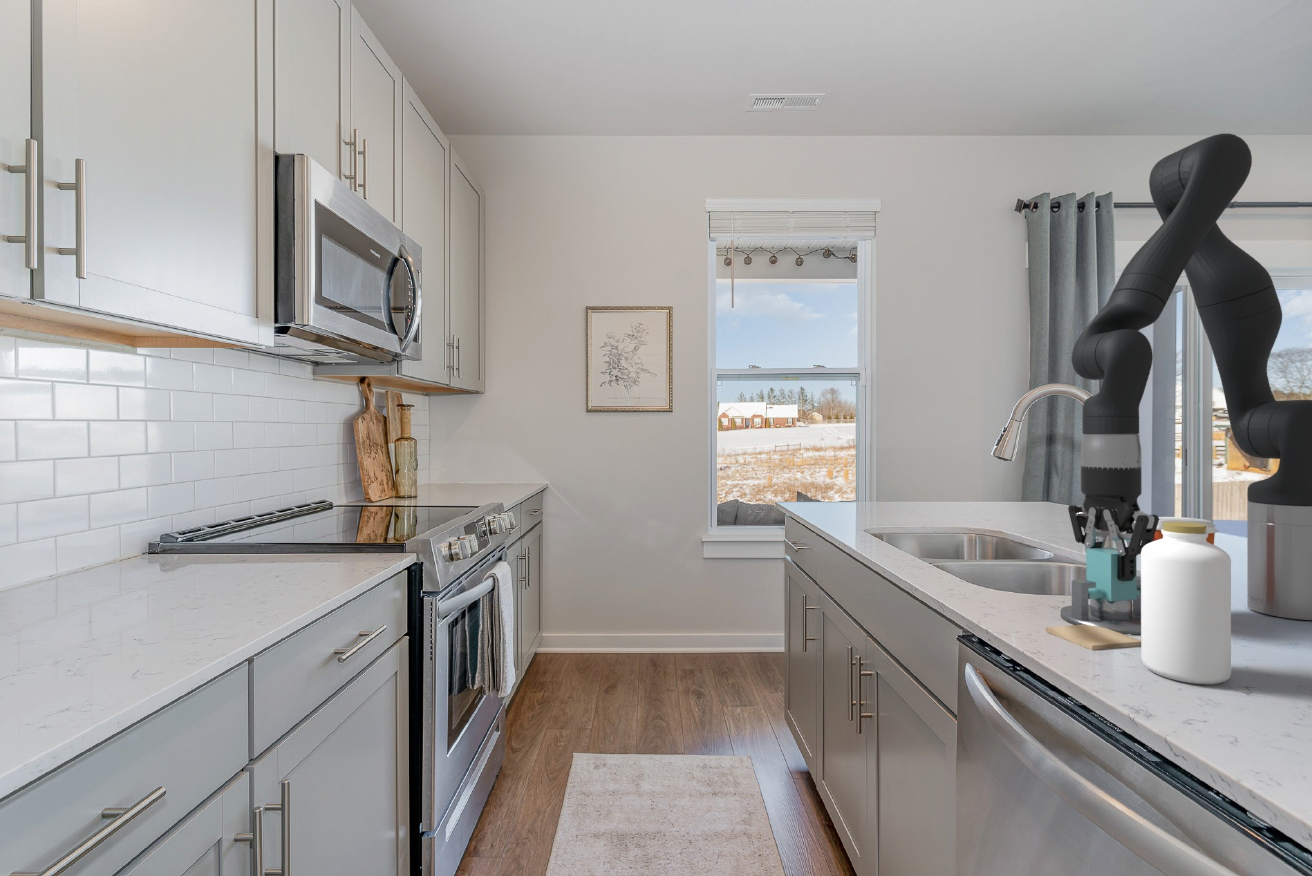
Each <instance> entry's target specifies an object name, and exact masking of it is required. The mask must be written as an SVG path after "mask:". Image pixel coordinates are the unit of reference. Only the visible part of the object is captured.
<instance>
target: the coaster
mask: <svg viewBox="0 0 1312 876" xmlns="http://www.w3.org/2000/svg"><path fill="white" fill-rule="evenodd" d="M1045 633H1048V634H1051V635H1054V636H1056V637H1059V638H1060V639H1064V640H1066V641H1068V642H1071V643H1073V644H1076V645H1078V646H1081V647H1083V648H1086V649H1088V650H1091V651H1094V650H1095V651H1098V650H1108V649H1110V650H1111V649H1119V647H1122V648H1129V647H1128V646H1134V647H1141V639H1139V638H1136V637H1132V636H1131V635H1124V634H1121V633H1118V632H1116V631H1113V630H1110V629H1107V628H1102V627H1096V626H1092V625H1087V624H1084V625H1074V624H1072V625H1061V626H1048V627H1047V626H1046V627H1045Z"/></svg>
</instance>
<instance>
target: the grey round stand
mask: <svg viewBox="0 0 1312 876" xmlns="http://www.w3.org/2000/svg"><path fill="white" fill-rule="evenodd" d="M1088 588H1096V582H1093V581H1090V580H1086V579H1075V580H1074V579H1073V580H1072V579H1071V605H1066V606H1063V607H1061V609H1060V618H1061V619H1062V620H1063V621H1065V622H1067V623H1069V624H1072V625H1084V624H1087V625H1092V626H1096V627H1102V628H1107V629H1110V630H1113V631H1116V632H1118V633H1121V634H1131V635H1130V636H1141V575H1140V576H1139V575H1138V576H1137V590H1140V596H1137V600H1124V601H1108V600H1105V599H1102V598H1097V599H1088ZM1089 602H1090V604H1089Z"/></svg>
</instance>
